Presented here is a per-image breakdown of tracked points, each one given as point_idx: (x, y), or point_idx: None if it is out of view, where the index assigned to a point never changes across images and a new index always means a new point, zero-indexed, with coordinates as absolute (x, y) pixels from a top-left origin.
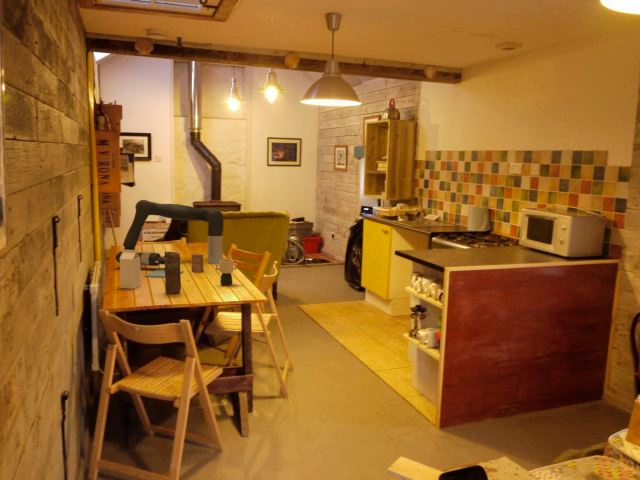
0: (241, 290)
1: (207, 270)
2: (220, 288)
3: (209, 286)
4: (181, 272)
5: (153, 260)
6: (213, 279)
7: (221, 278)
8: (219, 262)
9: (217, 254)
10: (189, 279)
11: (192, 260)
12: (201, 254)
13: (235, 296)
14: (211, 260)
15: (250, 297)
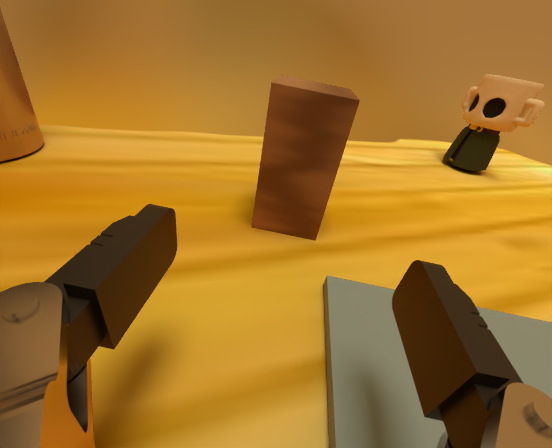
0: None
1: (243, 184)
2: (511, 178)
3: (521, 193)
4: (382, 289)
5: None
6: (421, 181)
7: (493, 152)
8: (535, 92)
9: (21, 76)
10: (495, 243)
11: (341, 149)
12: (300, 79)
13: (542, 168)
14: (5, 135)
15: (519, 155)
